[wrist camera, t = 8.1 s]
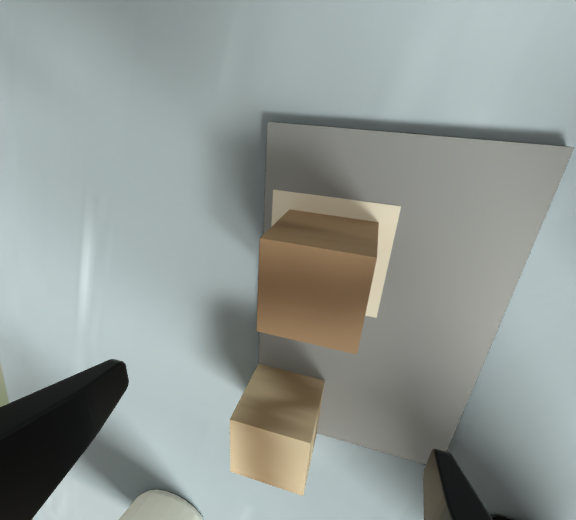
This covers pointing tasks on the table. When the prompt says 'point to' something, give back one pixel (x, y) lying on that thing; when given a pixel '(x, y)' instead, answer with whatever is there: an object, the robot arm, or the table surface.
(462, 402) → the board
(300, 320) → the block
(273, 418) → the block
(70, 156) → the table surface
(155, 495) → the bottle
